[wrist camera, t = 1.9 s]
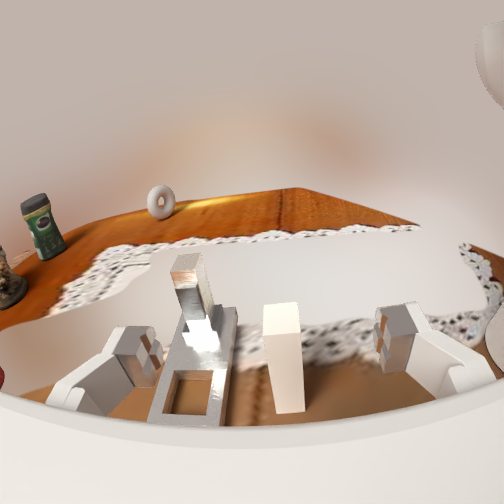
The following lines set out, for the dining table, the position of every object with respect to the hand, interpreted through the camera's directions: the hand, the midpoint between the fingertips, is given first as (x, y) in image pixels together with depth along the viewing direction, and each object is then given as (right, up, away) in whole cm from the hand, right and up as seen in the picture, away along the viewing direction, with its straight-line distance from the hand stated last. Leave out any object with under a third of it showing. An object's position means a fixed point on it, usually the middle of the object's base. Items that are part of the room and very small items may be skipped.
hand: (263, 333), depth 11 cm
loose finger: (+4, -13, +21) cm, 25 cm away
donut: (-26, +13, +79) cm, 84 cm away
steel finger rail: (-7, -12, +26) cm, 30 cm away
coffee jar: (-60, +2, +70) cm, 92 cm away
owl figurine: (-62, -8, +51) cm, 81 cm away
